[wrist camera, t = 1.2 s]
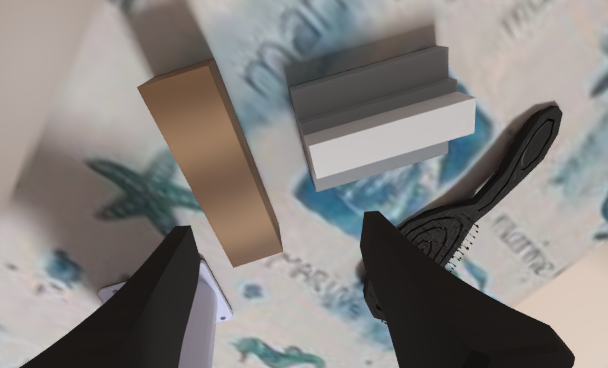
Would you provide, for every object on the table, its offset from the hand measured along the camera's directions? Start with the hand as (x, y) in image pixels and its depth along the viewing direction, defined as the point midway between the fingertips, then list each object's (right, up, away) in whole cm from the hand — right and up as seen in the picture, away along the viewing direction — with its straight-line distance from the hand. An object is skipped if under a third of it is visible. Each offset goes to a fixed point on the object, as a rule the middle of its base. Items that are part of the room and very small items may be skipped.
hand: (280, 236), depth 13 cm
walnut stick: (-5, +4, +10) cm, 12 cm away
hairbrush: (+15, -1, +17) cm, 23 cm away
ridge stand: (+6, +7, +11) cm, 14 cm away
